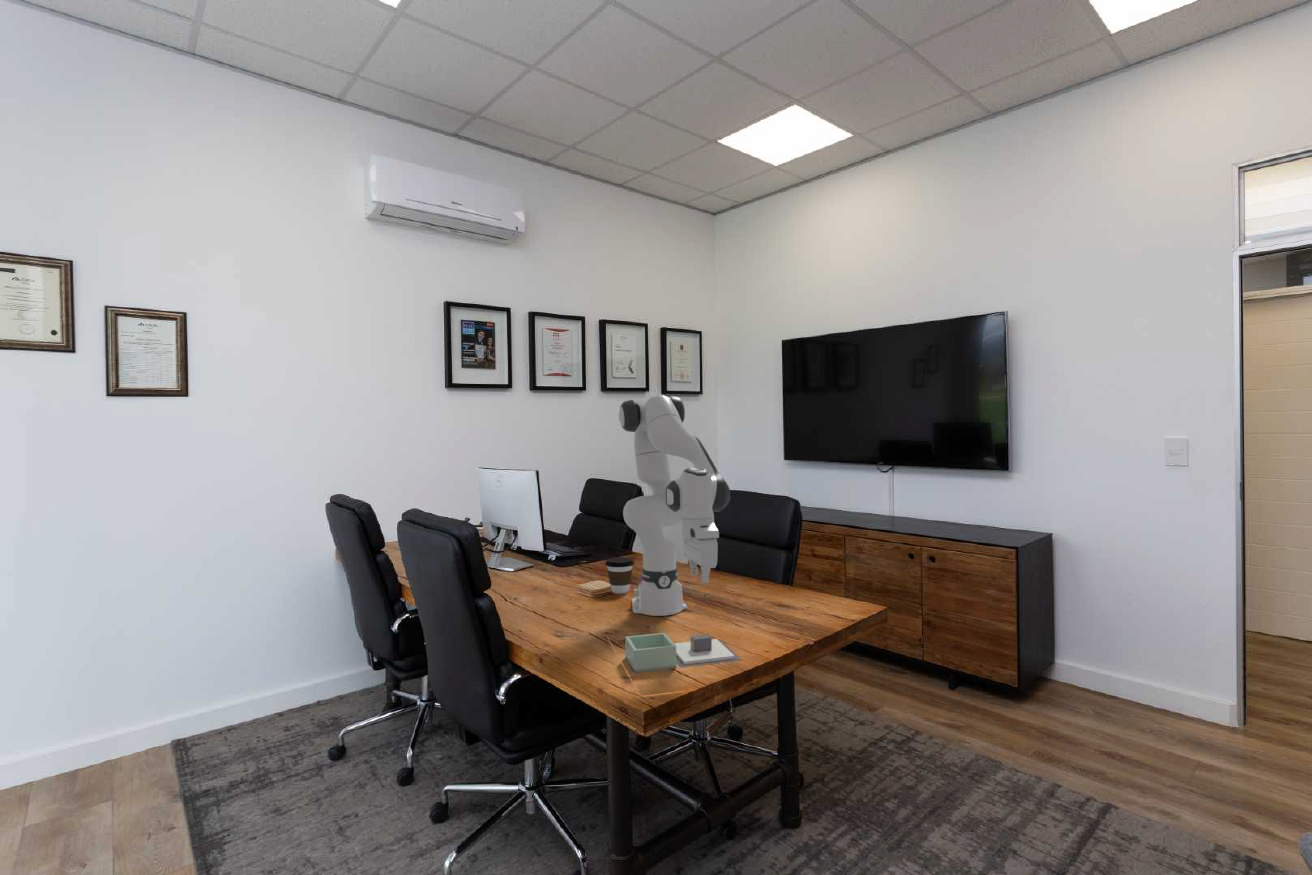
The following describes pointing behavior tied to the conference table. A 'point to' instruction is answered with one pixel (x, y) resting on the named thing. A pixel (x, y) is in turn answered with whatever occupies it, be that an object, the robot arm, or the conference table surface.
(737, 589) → the conference table surface
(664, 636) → the pale green open box
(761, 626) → the conference table surface
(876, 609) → the conference table surface
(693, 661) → the lid
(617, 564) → the coffee cup
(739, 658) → the mat
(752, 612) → the conference table surface
